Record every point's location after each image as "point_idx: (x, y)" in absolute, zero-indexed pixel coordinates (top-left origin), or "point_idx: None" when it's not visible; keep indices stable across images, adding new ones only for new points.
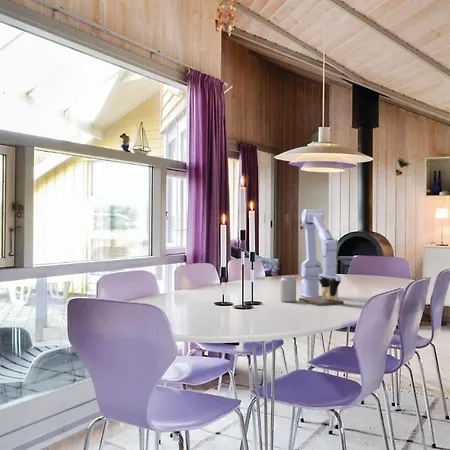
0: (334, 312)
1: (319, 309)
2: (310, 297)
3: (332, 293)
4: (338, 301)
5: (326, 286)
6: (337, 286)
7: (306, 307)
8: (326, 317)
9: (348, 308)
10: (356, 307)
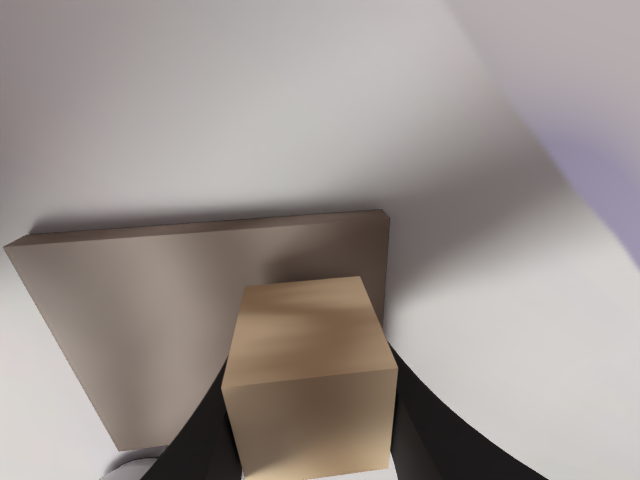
0: (580, 402)
1: None
2: (87, 379)
3: None
4: (376, 267)
5: (230, 455)
6: (462, 426)
7: (389, 459)
8: (624, 461)
9: (554, 283)
10: (568, 202)
